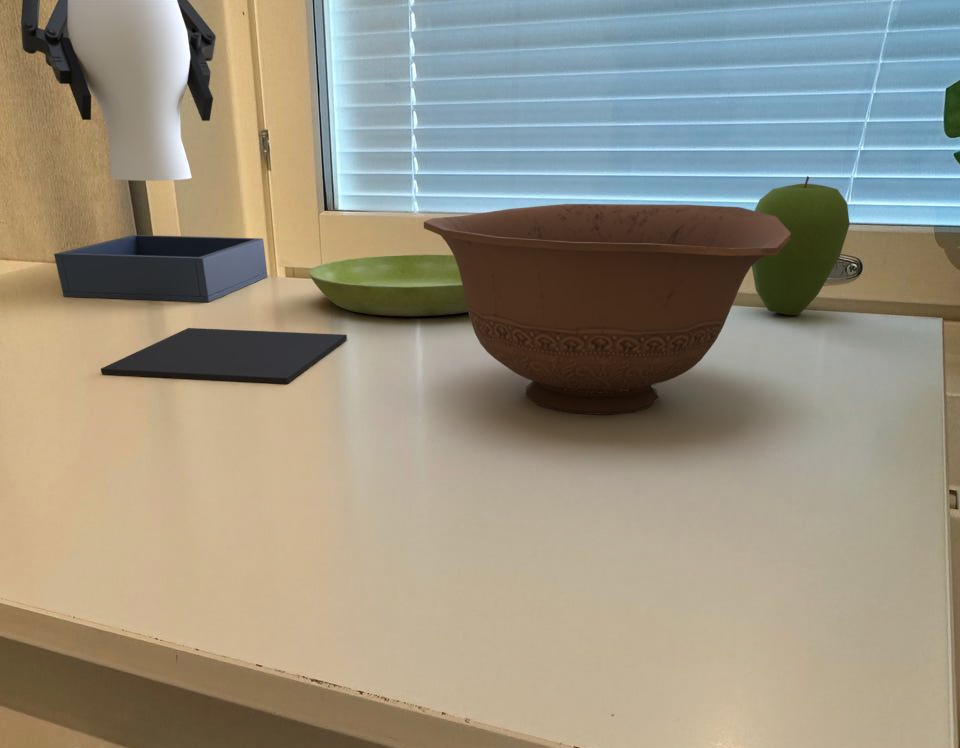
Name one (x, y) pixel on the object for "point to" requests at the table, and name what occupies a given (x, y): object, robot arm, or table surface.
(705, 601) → the table surface
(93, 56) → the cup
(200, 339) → the mat
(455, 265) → the saucer
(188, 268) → the bin
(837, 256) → the apple
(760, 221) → the bowl
